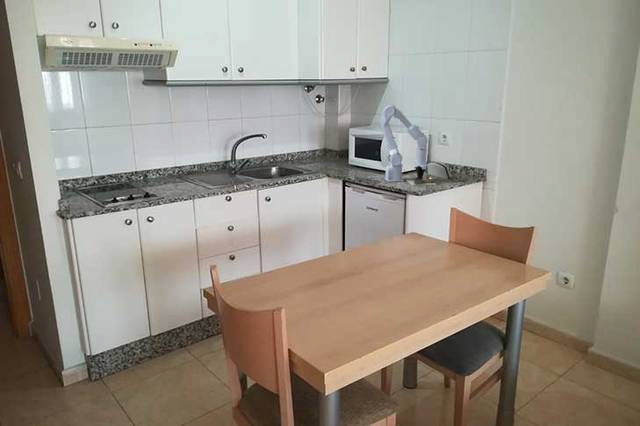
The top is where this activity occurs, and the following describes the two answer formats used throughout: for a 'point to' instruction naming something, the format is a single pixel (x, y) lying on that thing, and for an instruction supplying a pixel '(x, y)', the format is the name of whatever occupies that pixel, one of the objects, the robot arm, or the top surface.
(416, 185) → the base board
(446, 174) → the grey piece
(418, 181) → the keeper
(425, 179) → the link
